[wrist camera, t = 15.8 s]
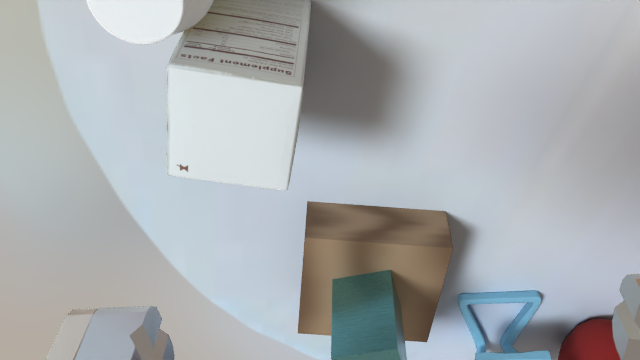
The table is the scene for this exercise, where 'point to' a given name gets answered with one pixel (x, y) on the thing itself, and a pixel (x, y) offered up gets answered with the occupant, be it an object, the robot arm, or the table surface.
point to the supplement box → (238, 93)
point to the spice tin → (367, 318)
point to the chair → (510, 355)
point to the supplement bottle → (147, 17)
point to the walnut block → (374, 260)
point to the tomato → (590, 342)
